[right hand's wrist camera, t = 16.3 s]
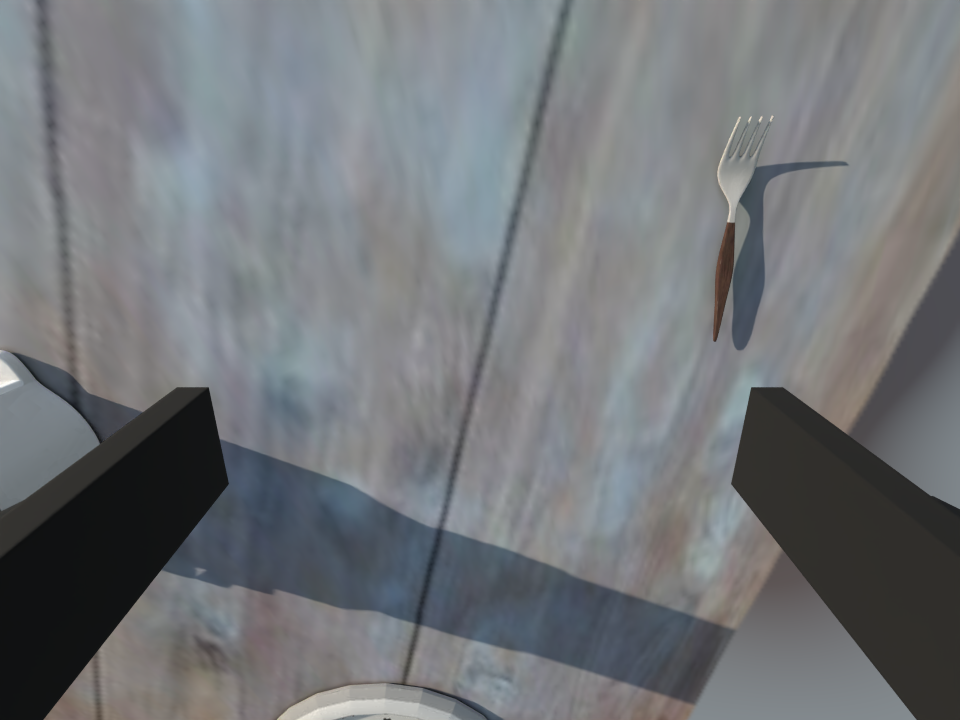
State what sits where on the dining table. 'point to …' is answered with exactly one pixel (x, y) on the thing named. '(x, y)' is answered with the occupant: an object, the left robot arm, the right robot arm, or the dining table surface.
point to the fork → (733, 209)
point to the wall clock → (380, 705)
